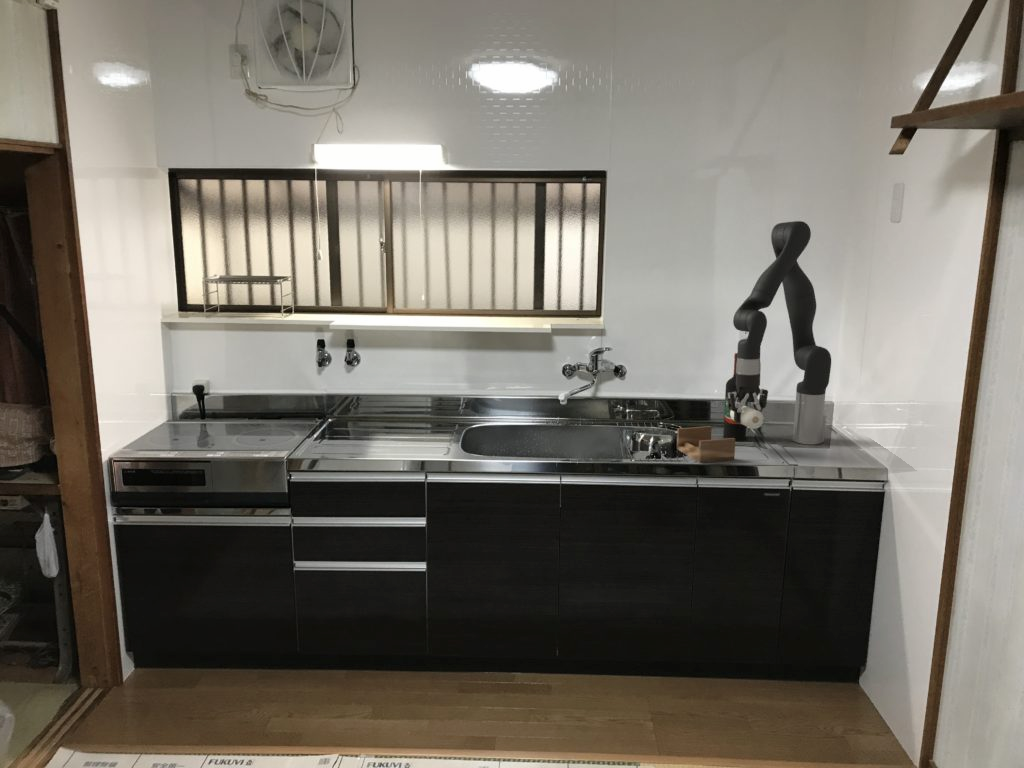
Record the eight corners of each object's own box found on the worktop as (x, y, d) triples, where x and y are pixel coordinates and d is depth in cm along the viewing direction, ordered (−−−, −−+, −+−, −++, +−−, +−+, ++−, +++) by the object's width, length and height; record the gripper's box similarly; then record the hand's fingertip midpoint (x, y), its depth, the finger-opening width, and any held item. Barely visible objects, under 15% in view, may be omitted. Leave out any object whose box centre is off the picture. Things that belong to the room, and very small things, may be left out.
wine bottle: (748, 437, 265) (752, 352, 259) (742, 442, 258) (747, 356, 252) (726, 434, 268) (730, 351, 262) (720, 439, 262) (724, 354, 256)
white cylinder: (726, 414, 250) (737, 400, 250) (737, 424, 252) (749, 411, 252) (744, 421, 240) (755, 407, 240) (755, 432, 242) (767, 418, 242)
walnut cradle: (676, 448, 252) (677, 428, 250) (709, 446, 255) (710, 425, 253) (699, 463, 237) (700, 441, 235) (734, 459, 239) (735, 438, 238)
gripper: (761, 367, 248) (759, 417, 252) (722, 371, 245) (720, 421, 248) (774, 371, 241) (772, 422, 245) (734, 375, 238) (733, 427, 241)
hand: (746, 421), depth 247 cm, fingers closed on white cylinder, 6 cm apart
